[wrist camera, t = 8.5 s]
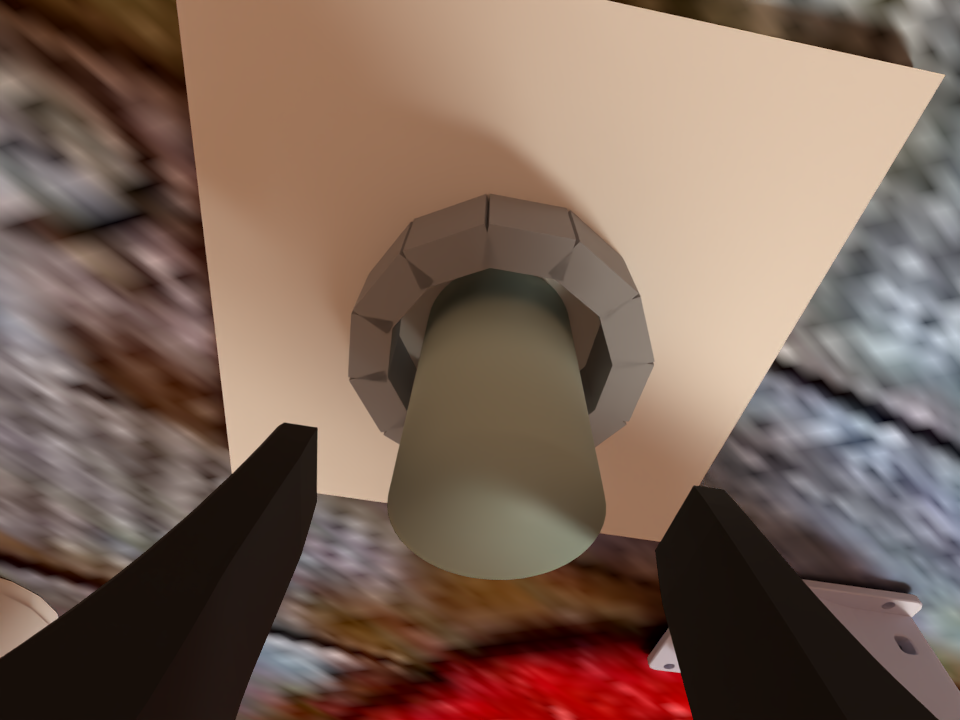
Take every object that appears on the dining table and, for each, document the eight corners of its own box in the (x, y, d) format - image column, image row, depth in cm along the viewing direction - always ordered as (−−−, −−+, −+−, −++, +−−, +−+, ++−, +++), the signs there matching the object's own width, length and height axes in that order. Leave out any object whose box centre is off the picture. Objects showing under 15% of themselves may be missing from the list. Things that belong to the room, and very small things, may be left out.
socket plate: (914, 68, 12) (1020, 90, 10) (658, 520, 21) (679, 591, 19) (189, -92, 11) (100, -114, 9) (243, 460, 20) (207, 527, 18)
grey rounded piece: (589, 284, 14) (640, 458, 9) (546, 399, 17) (566, 593, 11) (441, 251, 14) (403, 411, 9) (417, 373, 16) (375, 561, 11)
